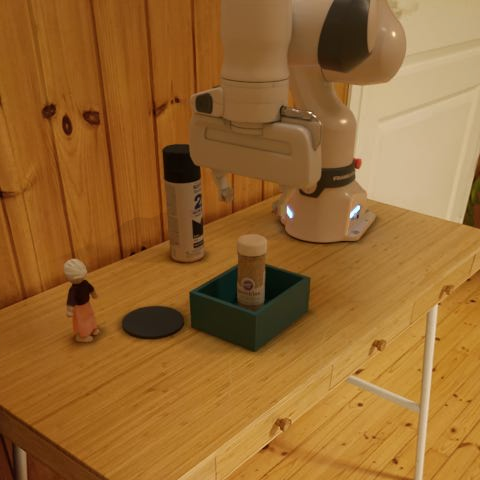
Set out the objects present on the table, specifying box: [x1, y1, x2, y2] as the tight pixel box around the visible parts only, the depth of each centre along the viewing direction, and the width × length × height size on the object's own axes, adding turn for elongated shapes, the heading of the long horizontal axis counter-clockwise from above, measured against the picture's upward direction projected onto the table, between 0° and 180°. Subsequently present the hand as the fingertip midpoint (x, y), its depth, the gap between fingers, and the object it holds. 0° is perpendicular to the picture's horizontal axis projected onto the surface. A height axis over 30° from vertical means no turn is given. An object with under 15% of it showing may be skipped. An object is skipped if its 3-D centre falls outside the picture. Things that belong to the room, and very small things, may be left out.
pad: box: [121, 305, 185, 340], centre depth 99 cm, size 10×10×1 cm
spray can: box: [161, 143, 205, 263], centre depth 113 cm, size 7×7×20 cm
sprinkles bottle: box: [236, 233, 268, 312], centre depth 96 cm, size 5×5×14 cm
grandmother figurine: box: [63, 258, 101, 343], centre depth 91 cm, size 8×4×13 cm, turn 171°
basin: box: [188, 263, 312, 352], centre depth 98 cm, size 16×13×6 cm
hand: (252, 207), depth 88 cm, fingers open, 8 cm apart
